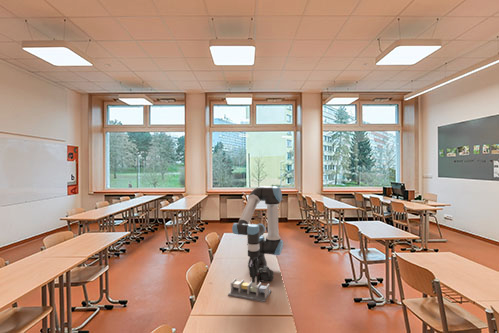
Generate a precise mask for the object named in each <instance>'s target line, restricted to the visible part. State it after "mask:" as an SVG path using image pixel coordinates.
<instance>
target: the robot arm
mask: <svg viewBox="0 0 499 333" xmlns="http://www.w3.org/2000/svg"><path fill="white" fill-rule="evenodd" d="M282 200H283V193H282V189H281V188H280V187H279V186H274V185H273V186H271V185H269V186H268V185H267V186H264V185H263V186H262V185H261V186H258V187H256V188H254V189H252V191H251V192H250V193H249V195H248V197H247V202H246V204H245V206H244V208H243V211H242V213H241V215H240V218H239V220H238V222H233V224H232V226H231V230H232V234H233V235H238V236H239V235H241V236H247V238H246V239H247V244H246V245H247V257H249V259H248V262H247V264H248V265H247V266H248V271H249V278H251V281H252V287H257V285H258V284H257V283H258V282H257V279H256V276H258V275H257V274H258V269H259V268H262V269H263V267H265V266H267V267H268V263H267V259H266V257H265V255H273V256H280V255H281V254H282V252H283V248H284V241H283V240H282V238H281V236H280V235H279V205H280V204H281V202H282ZM260 202H264V204H265V205H266V215H267V217H266V220H267V236H266V237H265V236H263V235H264V234H265V233H266V226H265V225H264V223H257V224H255V223H254V224H253V223H252V224H251V223H250V222H251V219H252V218H253V215H254V214H255V210H256V208H257V205H258V204H259V203H260Z"/></svg>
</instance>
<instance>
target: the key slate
mask: <svg viewBox="0 0 499 333" xmlns="http://www.w3.org/2000/svg"><path fill="white" fill-rule="evenodd" d="M266 286H267V285H262V284H261V286H260V288H259V292H264V293H265V287H266Z"/></svg>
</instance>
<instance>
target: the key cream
mask: <svg viewBox="0 0 499 333" xmlns="http://www.w3.org/2000/svg"><path fill="white" fill-rule="evenodd" d="M240 282H241V281H239V280H236V281H235V282H234V283H233V287H236V288H239V285H238V284H239V283H240Z"/></svg>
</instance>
